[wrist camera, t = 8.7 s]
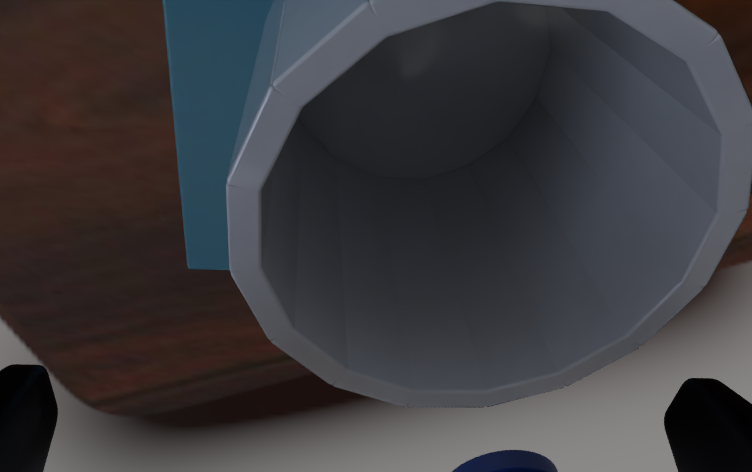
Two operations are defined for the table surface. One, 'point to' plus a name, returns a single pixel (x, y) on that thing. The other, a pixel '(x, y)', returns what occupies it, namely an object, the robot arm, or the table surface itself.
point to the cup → (481, 188)
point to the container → (209, 109)
